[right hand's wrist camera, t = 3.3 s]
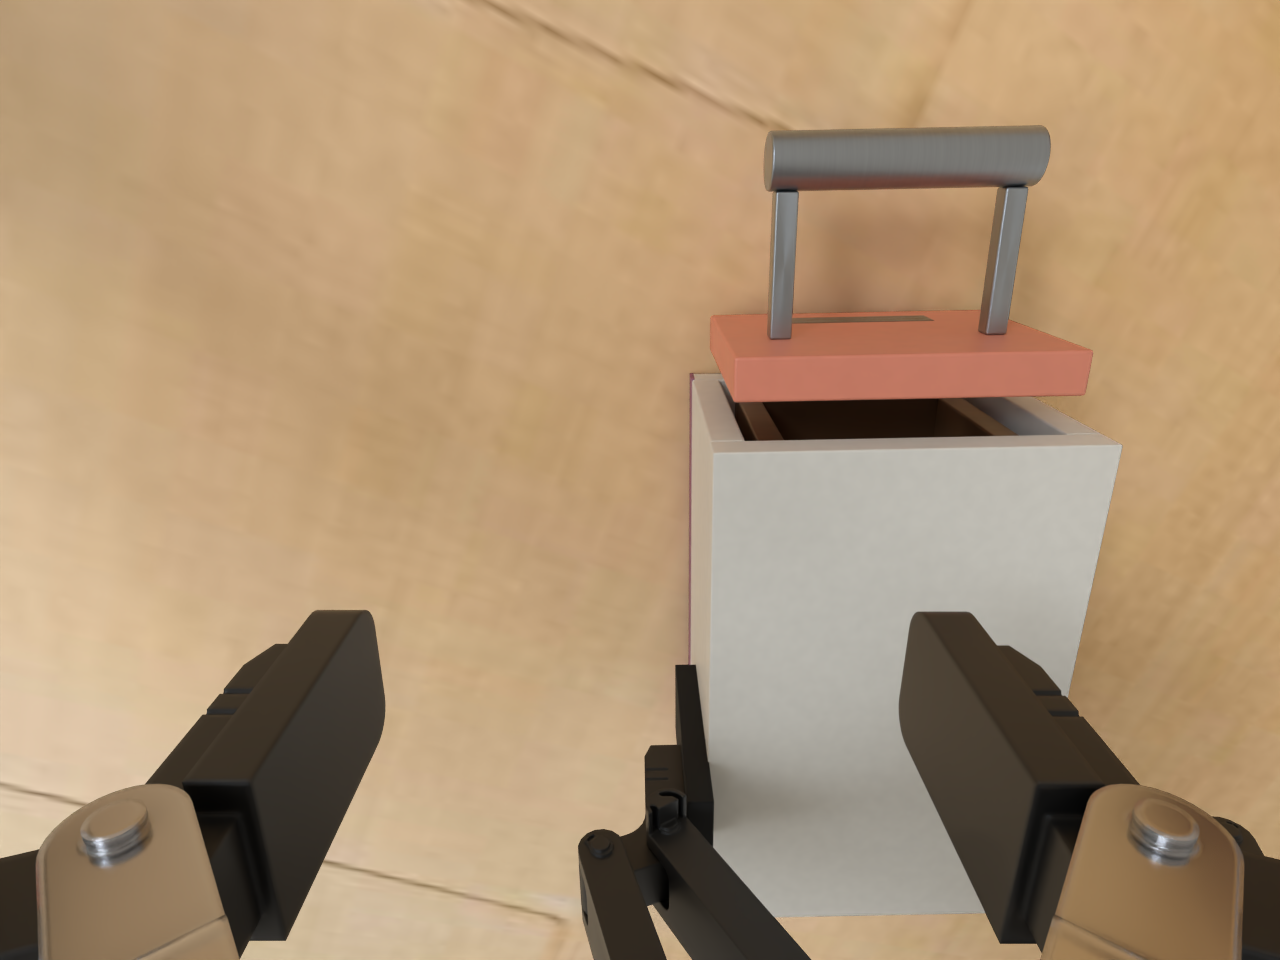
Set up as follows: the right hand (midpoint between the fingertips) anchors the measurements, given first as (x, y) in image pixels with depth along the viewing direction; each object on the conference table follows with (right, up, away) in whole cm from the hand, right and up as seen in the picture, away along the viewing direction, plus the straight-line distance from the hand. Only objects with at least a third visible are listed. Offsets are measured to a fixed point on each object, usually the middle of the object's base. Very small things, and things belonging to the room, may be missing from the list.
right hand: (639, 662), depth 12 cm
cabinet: (+7, -1, +19) cm, 20 cm away
